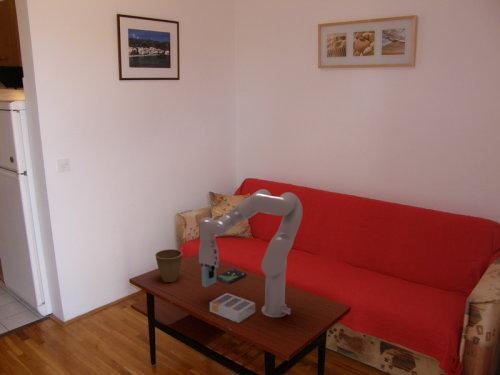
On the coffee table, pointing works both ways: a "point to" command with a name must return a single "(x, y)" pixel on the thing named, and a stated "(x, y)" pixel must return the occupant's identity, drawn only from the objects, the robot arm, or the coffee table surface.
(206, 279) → the panel
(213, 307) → the frame
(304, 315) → the coffee table surface
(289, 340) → the coffee table surface
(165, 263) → the plant pot
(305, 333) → the coffee table surface
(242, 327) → the coffee table surface
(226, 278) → the disk drive
